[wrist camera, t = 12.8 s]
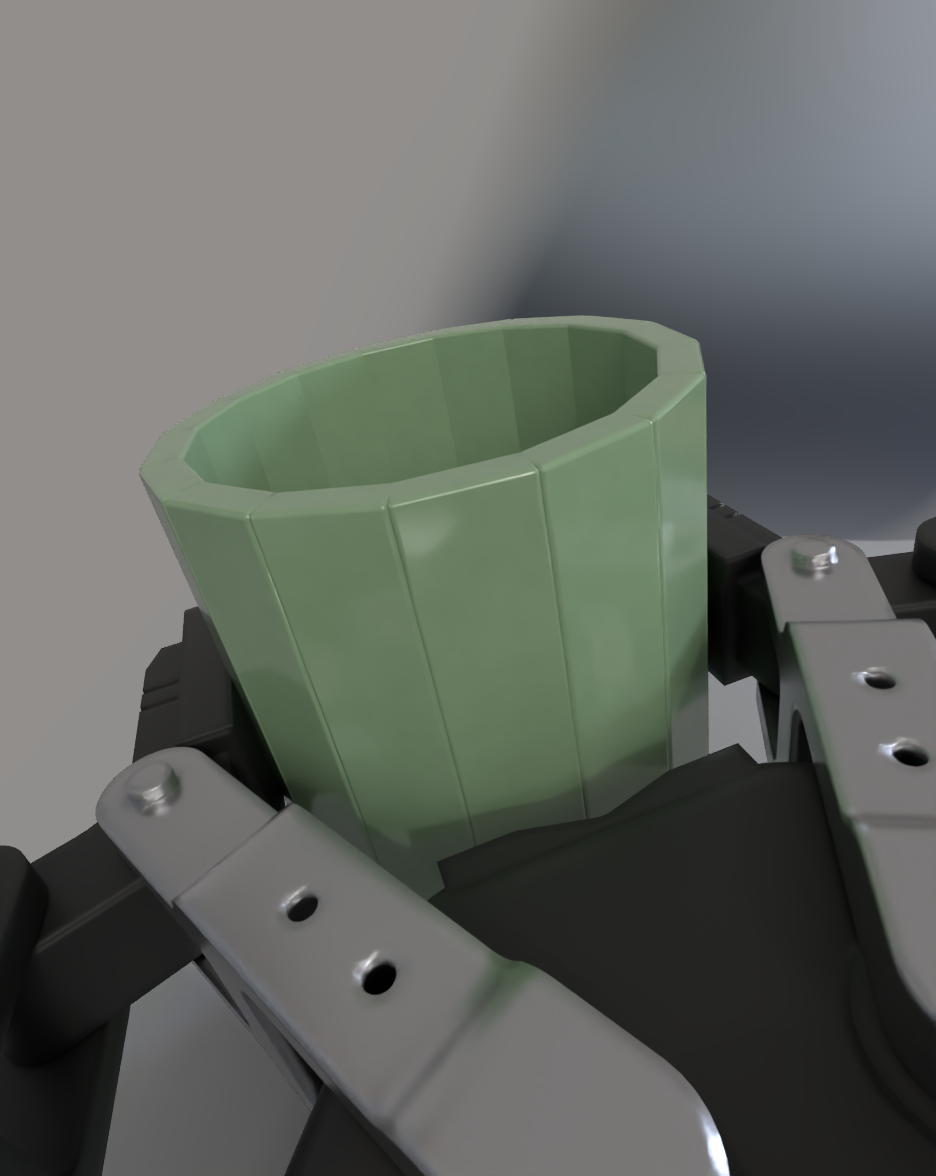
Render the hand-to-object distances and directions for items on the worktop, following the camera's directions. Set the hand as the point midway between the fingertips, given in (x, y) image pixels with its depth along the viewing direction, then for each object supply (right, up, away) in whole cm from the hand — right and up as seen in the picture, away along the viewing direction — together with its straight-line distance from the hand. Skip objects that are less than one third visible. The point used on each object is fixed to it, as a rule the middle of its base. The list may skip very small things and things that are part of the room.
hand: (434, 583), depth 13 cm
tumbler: (+2, -6, +1) cm, 6 cm away
